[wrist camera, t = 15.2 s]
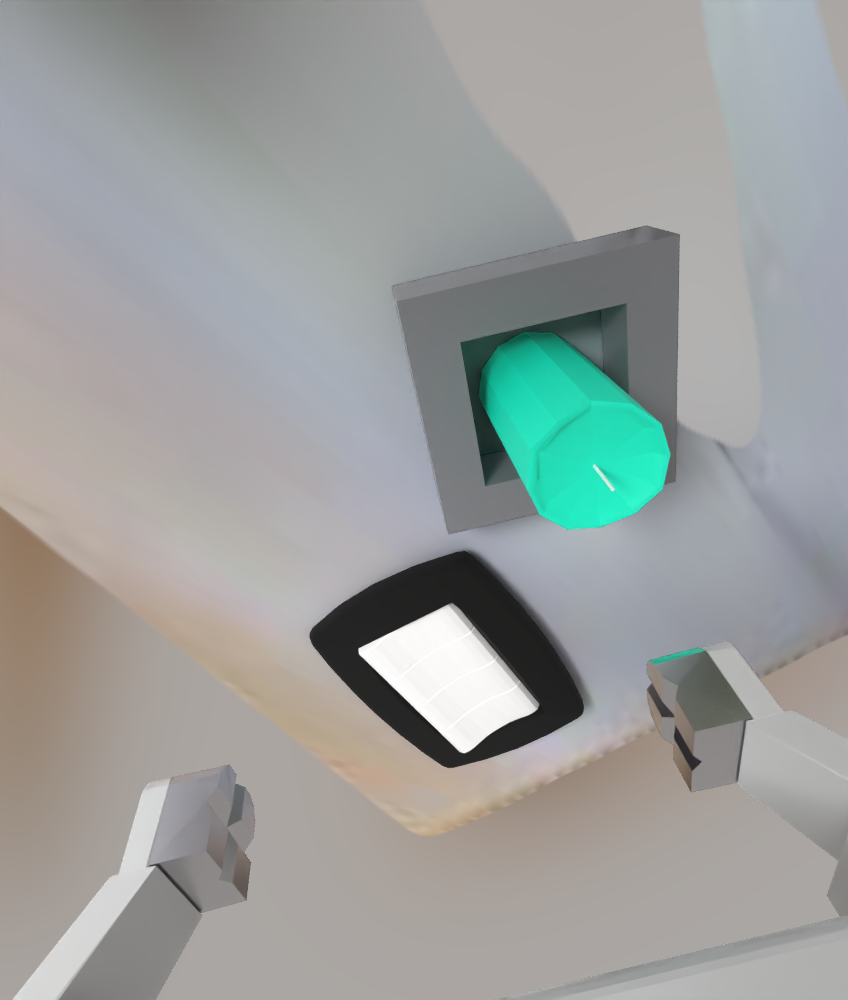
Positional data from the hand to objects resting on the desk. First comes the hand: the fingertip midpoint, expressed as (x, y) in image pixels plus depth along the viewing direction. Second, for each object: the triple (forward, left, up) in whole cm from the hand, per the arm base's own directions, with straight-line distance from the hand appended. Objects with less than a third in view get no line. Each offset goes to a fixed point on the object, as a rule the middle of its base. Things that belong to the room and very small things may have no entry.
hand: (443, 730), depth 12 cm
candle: (+3, +8, -24) cm, 25 cm away
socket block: (+3, +8, -24) cm, 25 cm away
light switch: (+23, 0, -24) cm, 34 cm away
